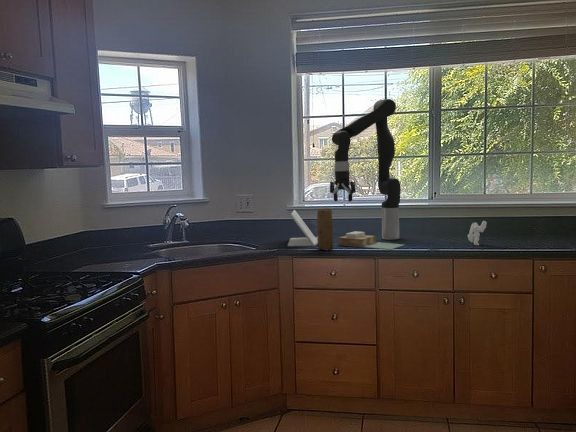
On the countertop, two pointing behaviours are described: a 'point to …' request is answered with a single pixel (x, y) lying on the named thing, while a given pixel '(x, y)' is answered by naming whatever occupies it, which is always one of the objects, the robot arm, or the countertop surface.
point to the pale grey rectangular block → (355, 234)
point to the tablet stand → (310, 237)
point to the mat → (384, 245)
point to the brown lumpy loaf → (324, 229)
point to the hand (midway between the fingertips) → (342, 201)
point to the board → (357, 241)
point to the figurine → (476, 232)
